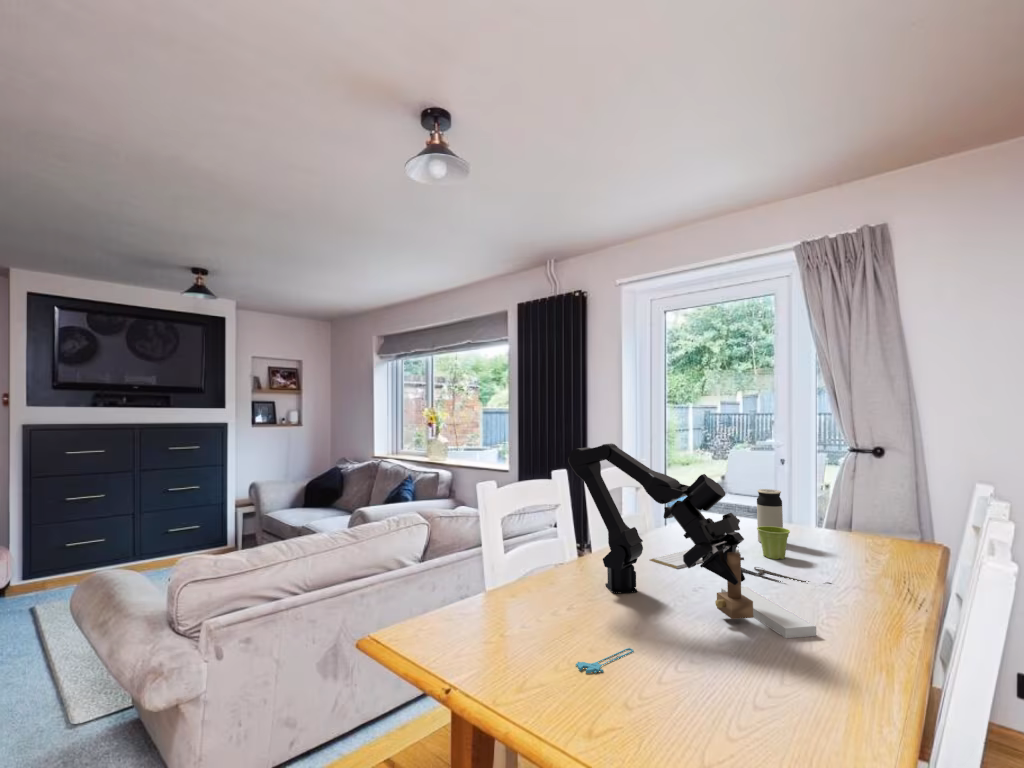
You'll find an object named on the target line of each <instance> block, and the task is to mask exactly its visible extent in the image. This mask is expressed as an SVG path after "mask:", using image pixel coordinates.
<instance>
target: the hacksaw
mask: <svg viewBox="0 0 1024 768" xmlns="http://www.w3.org/2000/svg"><path fill="white" fill-rule="evenodd" d="M753 569H754V570H756V571H757V572H756V571H753V570H750V569H746V568H743V567H742V566H741V570H742V572H743V574H747V575H751V576H755V577H758V578H759V577H760V578H764V579H766V580H771V581H774V582H778V583H780V582H781V581H782V580H778V579H775V578H771V577H768V576H765V575H766V574H768V575H772V576H775V577H779V576H780V578H782V577H784V578H783V579H786V578H789V579H788V580H791V579H793V580H792V581H795V580H797V581H796V582H799V581H801V582H800V583H803V582H806V581H808V580H802V579H798V578H795V577H791V576H787V575H782V574H781V573H776V572H774V571H773V572H771V571H770V570H766V569H765V568H763V567H760V566H754V568H753ZM779 581H780V582H779ZM808 582H810V581H808ZM826 583H829V582H826Z"/></svg>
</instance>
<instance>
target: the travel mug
mask: <svg viewBox="0 0 1024 768" xmlns="http://www.w3.org/2000/svg"><path fill="white" fill-rule="evenodd" d="M756 491H757V493H758V494H757V495H758V496H757V498H756V516H757V518H756V521H757V527H761V526H773V527H780V528H784V522H783V520H784V519H783V517H784V516H783V500H782V498H781V497H780V496H781V493H782V491H780V490H777V489H772V488H771V489H770V488H769V489H768V488H762V489H761V488H760V489H757V490H756ZM757 542H759V543H761V539H760V534H759V531H758V530H757Z"/></svg>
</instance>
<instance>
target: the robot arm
mask: <svg viewBox="0 0 1024 768" xmlns="http://www.w3.org/2000/svg"><path fill="white" fill-rule="evenodd" d="M567 458H568V459H567V460H568V464H569V466H570V467H571V469H572V470H573V472H574V474H575V475H576V476H578V477H579V478H580V480H582V481H583V483H585V486H586V487H587V489H588V492H589V494H590V496H591V498H592V500H593V502H594V504H595V506H596V508H597V511H598V513H599V515H600V517H601V520H602V521H603V523H604V526H605V528H606V529H607V533H608V534H607V535H608V536H607V538H608V546H609V550H610V551H609V552H608V553H607V554H606V555H605V556H604V557H603V558H602V562H603V566H604V567H605V568H606V571H607V582H606V583H605V587H606V588H608V590H609V591H610V592H611V593H612V594H626V593H627V594H628V593H637V592H638V590H637V571H635V566H634V564H636V563H637V561H638V558H640V557H641V555H642V554H643V550H644V547H643V542H644V540H643V539H642V538H641V536H640V534H639V532H638V530H637V528H636V527H635V526H634V527H631V528H630V527H629V525H627V524H626V523H625V522H624V519H623V517H622V516H621V513H620V511H619V509H618V507H617V505H616V503H615V501H614V499H613V497H612V495H611V492H610V491H609V489H608V487H607V484H606V483H605V480H604V478H603V477H602V473H601V470H602V468H601V467H602V466H601V462H602V461H607V462H608V463H610V464H611V465H612V466H614V467H616V468H617V469H619V470H620V471H622V472H623V473H625V474H626V475H627V476H628V477H630V478H632V479H633V480H635V481H636V482H638V483H639V484H640V485H641V486H642V488H643V489H644V491H645V492H646V494H647V495H648V496H650V498H652V499H653V500H654V501H655V503H658V504H661V505H665V504H670V503H673V502H674V501H675V502H674V503H673V504H672V505H671V506H665V507H664V509H663V510H664V512H663V519H665V520H666V519H671V518H674V519H675V521H676V522H677V523H678V524H679V526H680V527H681V528H682V530H683V531H684V534H683V537H684V538H685V539H686V540H687V539H690V540H691V541H692V543H693V544H694V545H693V546H692V547H691V548H690V550H689V549H688V550H689V551H688V552H686V553H685V554H684V555H683V562H684V563H685V564H686V566H685V567H687V569H691V568H694V567H695V566H697V564H696V562H697V561H698V560H699V559H701V558H702V561H703V562H701V564H700V565H699V567H700V568H701V569H702V568H703V569H706V570H707V571H709V572H712V573H713V574H715V575H716V576H719V577H721V578H722V579H723V580H725V581H729V582H731V583H732V584H734V585H736V584H737V583H738V580H737V578H736V576H735V575H734V573H733V572H732V570H731V569H730V567H729V566H728V564H727V552H736V549H738V546H739V545H740V544H741V543H742V542H743V541H744V540H745V538H744V537H743V536H742V535H741V533H740V532H739V531H741V528H740V526H739V525H740V522H741V520H740V519H739V518H738V517H737V516H736V515H734V513H732V512H728V513H725V514H722V519H721V520H717V521H714V520H713V519H712V518H710V517H708V518H705V516H704V514H703V513H702V512H701V511H706V512H707V511H710V510H711V509H712V508H713V507H714V506H715V505H716V504H717V503H719V502H720V501H721V500H722V499H723V498H724V497H726V492H725V489H724V488H723V486H722V485H721V484H720V483H719V482H717V481H715V480H714V479H712V478H710V477H708V476H707V475H706V473H703V474H700V475H699V476H698V477H697V478H696V480H695V481H694V482H693V483H692V484H690V485H687V484H683V483H681V482H680V481H679V480H678V479H677V478H674V477H672V476H669V475H667V474H666V473H661V472H658V471H655V470H653V469H651V468H649V467H648V466H646V465H645V464H644V463H642V462H641V461H639V460H638V459H636V458H635V457H633V456H631V455H630V454H629V453H627V452H626V451H624V450H623V449H621V448H620V447H618V446H617V444H615V443H605V444H604V443H603V444H601V445H599V446H596V447H581V448H580V447H579V448H574V449H572V450H571V451H570V453H569V455H568V457H567ZM684 497H685V498H684ZM681 498H684V499H683V500H679V499H681ZM745 580H746V577H745V575H744V573H743V572H742V570H741V583H742V582H744V581H745Z"/></svg>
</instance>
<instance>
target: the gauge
mask: <svg viewBox="0 0 1024 768" xmlns="http://www.w3.org/2000/svg"><path fill="white" fill-rule="evenodd" d="M742 561H745V558H744V556H741V553H740V552H738V553H737V552H727V564H728V566H729V567H730V569H731V570H732V572H733V573H734V575H735V576H736V578H737V580H738V583H737V584H736V585H734V584H732V583H731V582H729V581H727V580H726V581H727V585H726V586H727V588H728V592H721V591H720V592H716V600H715V603H714V604H715V606H716V609H717V610H719V611H720V612H721V613H723V614H724V615H725V616H727V617H728V618H730V619H731V620H737V619H753V618H754V617H753V601H752V600H750V599H748V598H747V597H745V596H744V595H742V594H741V587H742V582H741V567H742Z"/></svg>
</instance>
